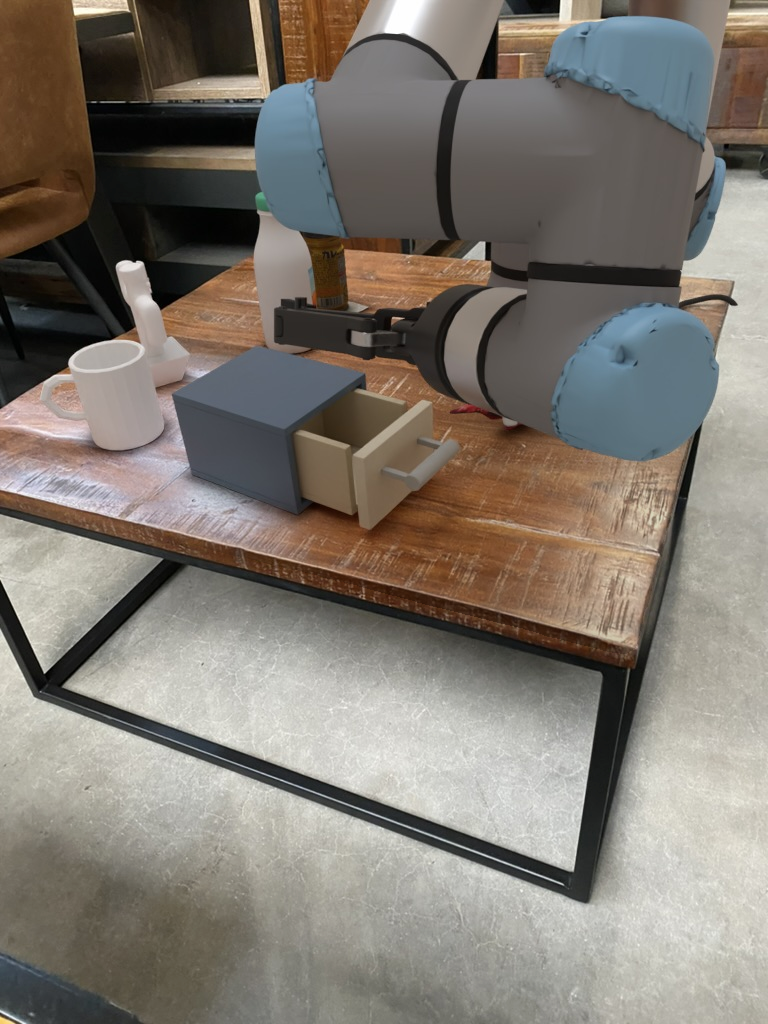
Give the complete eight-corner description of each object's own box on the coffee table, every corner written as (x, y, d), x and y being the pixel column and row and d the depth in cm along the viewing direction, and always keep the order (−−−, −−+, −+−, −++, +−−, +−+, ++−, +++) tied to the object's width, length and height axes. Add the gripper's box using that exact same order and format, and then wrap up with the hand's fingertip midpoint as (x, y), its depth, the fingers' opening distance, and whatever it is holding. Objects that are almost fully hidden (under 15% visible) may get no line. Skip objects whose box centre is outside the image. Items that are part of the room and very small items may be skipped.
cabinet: (371, 454, 82) (365, 372, 77) (297, 515, 74) (284, 429, 69) (269, 422, 89) (256, 345, 84) (191, 474, 81) (171, 393, 76)
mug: (53, 438, 89) (24, 360, 83) (154, 409, 94) (133, 333, 88) (66, 469, 83) (36, 388, 78) (173, 437, 88) (152, 357, 82)
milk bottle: (312, 356, 103) (293, 201, 91) (258, 354, 105) (232, 201, 93) (327, 333, 109) (311, 184, 97) (275, 331, 111) (254, 185, 99)
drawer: (471, 481, 76) (471, 412, 71) (408, 545, 68) (405, 471, 64) (328, 437, 84) (321, 372, 79) (259, 489, 77) (246, 421, 72)
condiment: (330, 296, 121) (322, 217, 114) (369, 308, 116) (363, 226, 109) (296, 311, 117) (285, 230, 110) (334, 323, 112) (326, 240, 105)
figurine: (144, 400, 96) (111, 282, 87) (123, 373, 102) (91, 261, 94) (199, 383, 99) (173, 268, 90) (175, 358, 105) (149, 248, 96)
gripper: (303, 415, 45) (218, 361, 63) (634, 400, 55) (479, 358, 73) (305, 281, 42) (216, 265, 60) (651, 292, 52) (486, 276, 71)
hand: (359, 316), depth 67 cm, fingers open, 13 cm apart
